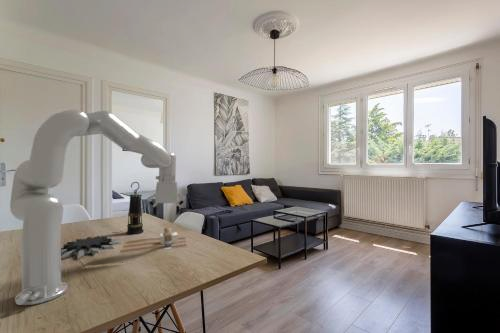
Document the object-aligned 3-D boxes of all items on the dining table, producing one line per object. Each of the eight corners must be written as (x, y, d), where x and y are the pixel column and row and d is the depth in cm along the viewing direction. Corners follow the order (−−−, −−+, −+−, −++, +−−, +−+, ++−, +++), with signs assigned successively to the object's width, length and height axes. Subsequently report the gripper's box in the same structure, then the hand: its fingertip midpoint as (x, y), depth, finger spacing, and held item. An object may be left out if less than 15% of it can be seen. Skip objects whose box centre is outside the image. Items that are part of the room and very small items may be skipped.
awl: (171, 246, 119) (171, 229, 119) (164, 247, 118) (164, 229, 118) (171, 244, 123) (171, 227, 123) (164, 245, 122) (164, 227, 122)
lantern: (135, 235, 144) (135, 182, 143) (122, 233, 147) (122, 182, 146) (146, 231, 152) (146, 181, 152) (134, 230, 155) (133, 181, 155)
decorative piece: (88, 231, 138) (136, 234, 132) (88, 238, 138) (136, 242, 132) (29, 250, 109) (88, 255, 103) (30, 259, 109) (88, 264, 103)
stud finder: (177, 242, 126) (177, 234, 126) (160, 244, 123) (160, 235, 123) (177, 239, 130) (177, 231, 130) (160, 241, 128) (160, 233, 128)
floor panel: (186, 249, 119) (186, 247, 119) (118, 256, 111) (118, 253, 111) (184, 237, 138) (184, 235, 138) (127, 242, 130) (127, 240, 130)
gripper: (146, 179, 114) (146, 216, 114) (186, 179, 119) (185, 215, 119) (148, 178, 121) (147, 214, 121) (185, 178, 126) (184, 212, 126)
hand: (166, 214), depth 120 cm, fingers open, 9 cm apart
